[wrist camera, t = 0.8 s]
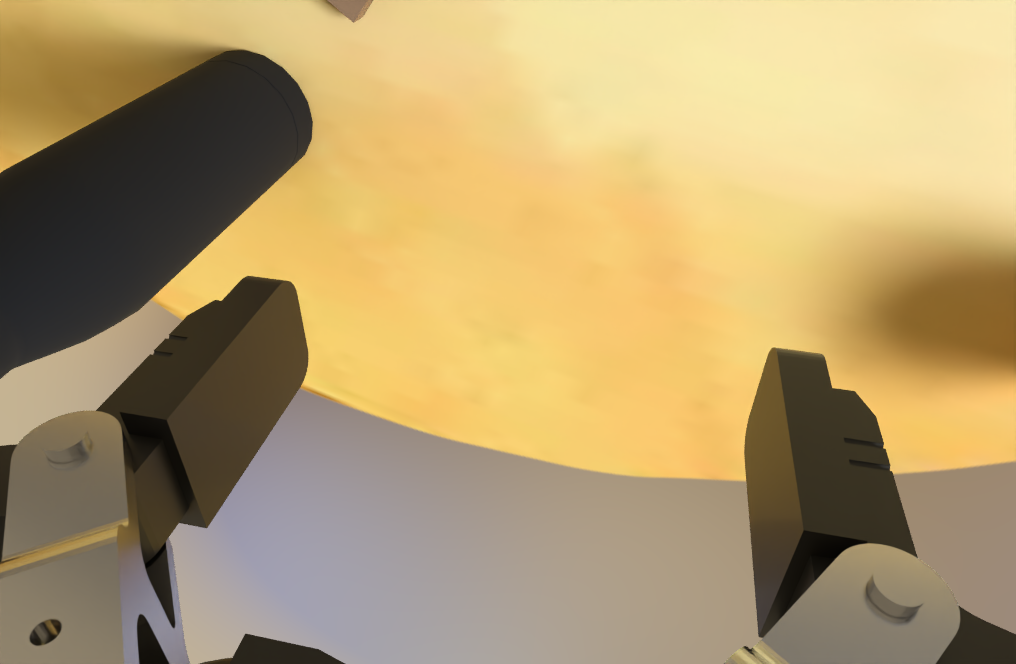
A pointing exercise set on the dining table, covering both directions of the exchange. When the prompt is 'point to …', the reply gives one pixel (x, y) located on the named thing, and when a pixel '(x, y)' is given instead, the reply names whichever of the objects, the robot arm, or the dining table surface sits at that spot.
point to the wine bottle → (138, 199)
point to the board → (352, 8)
